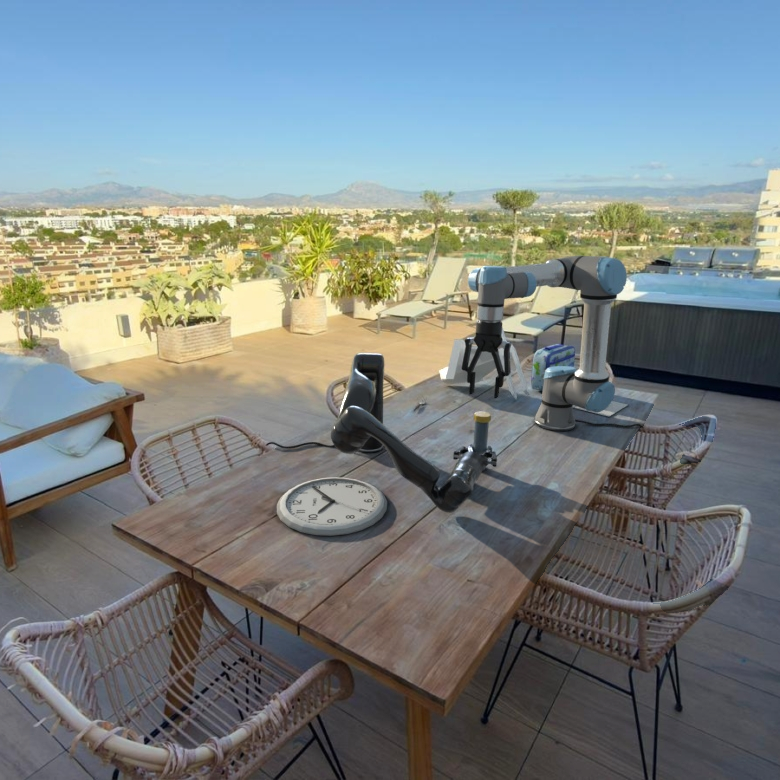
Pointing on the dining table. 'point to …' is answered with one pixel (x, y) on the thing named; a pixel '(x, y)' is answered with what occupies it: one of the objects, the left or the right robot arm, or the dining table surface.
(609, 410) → the invitation card
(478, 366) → the white plastic object
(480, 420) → the lid
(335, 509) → the wall clock
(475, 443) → the clear plastic cylinder
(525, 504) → the dining table surface
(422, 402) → the fork
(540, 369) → the lunch box
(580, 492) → the dining table surface
